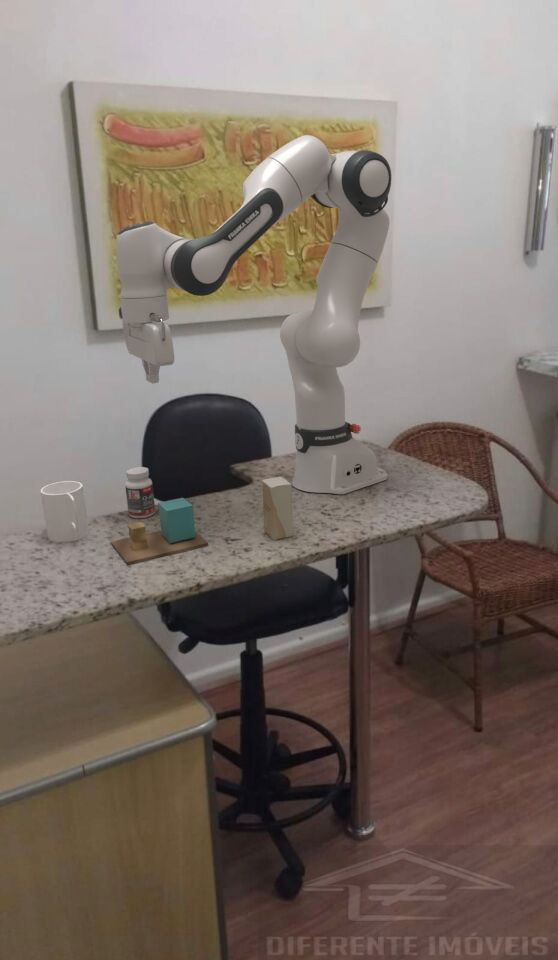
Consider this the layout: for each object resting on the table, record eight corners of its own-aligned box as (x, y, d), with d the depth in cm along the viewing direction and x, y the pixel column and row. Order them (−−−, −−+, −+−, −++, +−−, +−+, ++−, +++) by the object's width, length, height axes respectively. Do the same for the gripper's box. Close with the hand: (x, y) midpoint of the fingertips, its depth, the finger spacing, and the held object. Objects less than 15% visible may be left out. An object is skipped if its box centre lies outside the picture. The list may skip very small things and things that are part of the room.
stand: (188, 526, 153) (185, 494, 151) (208, 545, 144) (205, 511, 141) (111, 544, 146) (107, 511, 144) (127, 565, 137) (122, 530, 135)
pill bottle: (149, 519, 158) (144, 475, 155) (124, 518, 159) (119, 474, 156) (159, 509, 163) (154, 466, 160) (134, 508, 164) (129, 466, 161)
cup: (60, 552, 144) (52, 503, 141) (43, 532, 154) (35, 486, 151) (101, 541, 148) (94, 493, 145) (81, 523, 158) (75, 478, 155)
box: (263, 531, 149) (260, 479, 145) (283, 527, 150) (281, 475, 147) (274, 540, 144) (271, 487, 141) (294, 536, 146) (292, 483, 142)
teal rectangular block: (186, 528, 150) (183, 497, 148) (195, 537, 145) (192, 505, 143) (161, 534, 148) (157, 502, 145) (170, 543, 143) (166, 511, 141)
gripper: (178, 314, 137) (185, 388, 141) (145, 306, 154) (152, 372, 159) (145, 317, 134) (153, 393, 139) (115, 309, 152) (123, 376, 156)
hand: (152, 382), depth 149 cm, fingers closed
